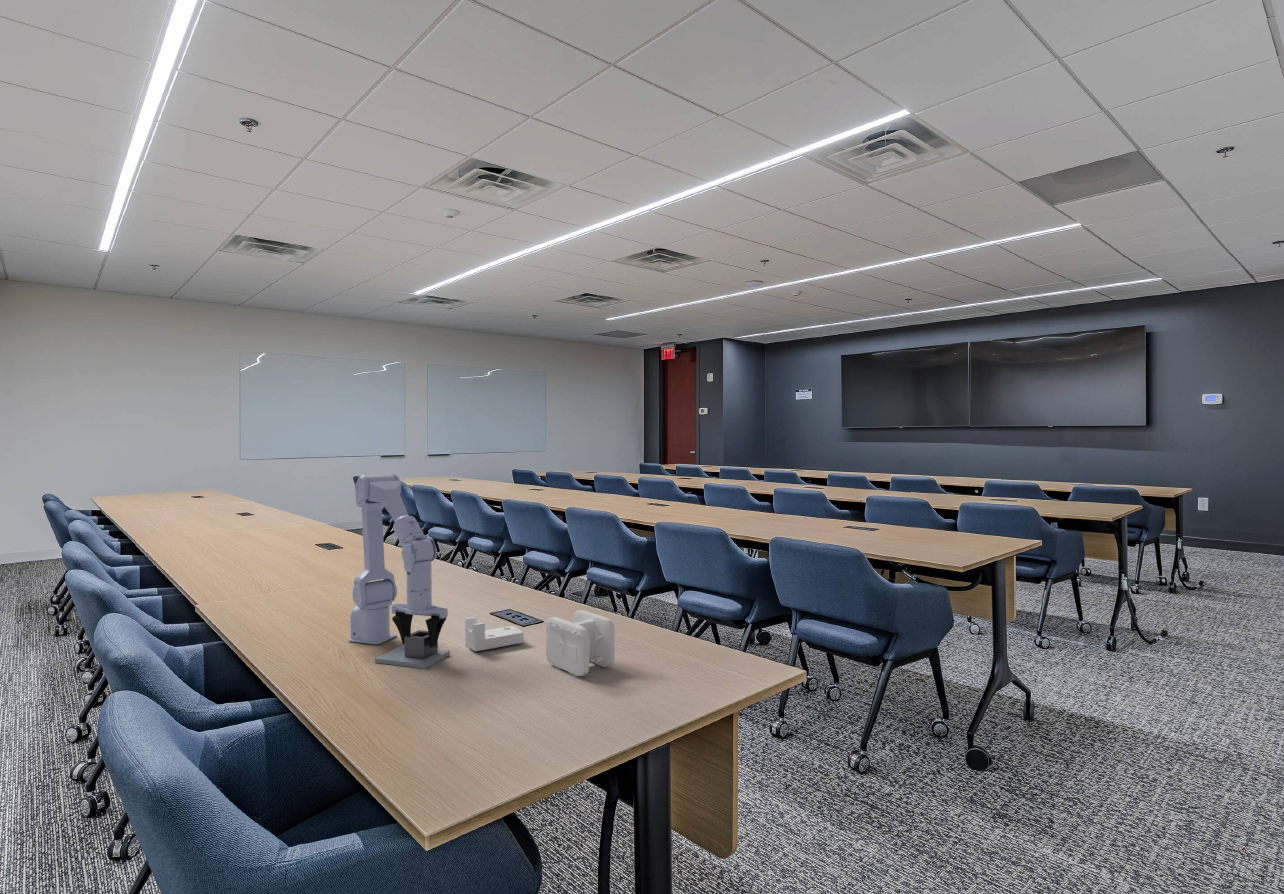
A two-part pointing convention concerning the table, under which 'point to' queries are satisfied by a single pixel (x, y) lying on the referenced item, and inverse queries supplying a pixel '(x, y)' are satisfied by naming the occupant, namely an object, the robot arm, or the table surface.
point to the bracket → (489, 636)
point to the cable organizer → (580, 642)
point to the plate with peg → (399, 658)
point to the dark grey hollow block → (419, 645)
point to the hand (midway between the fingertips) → (419, 644)
